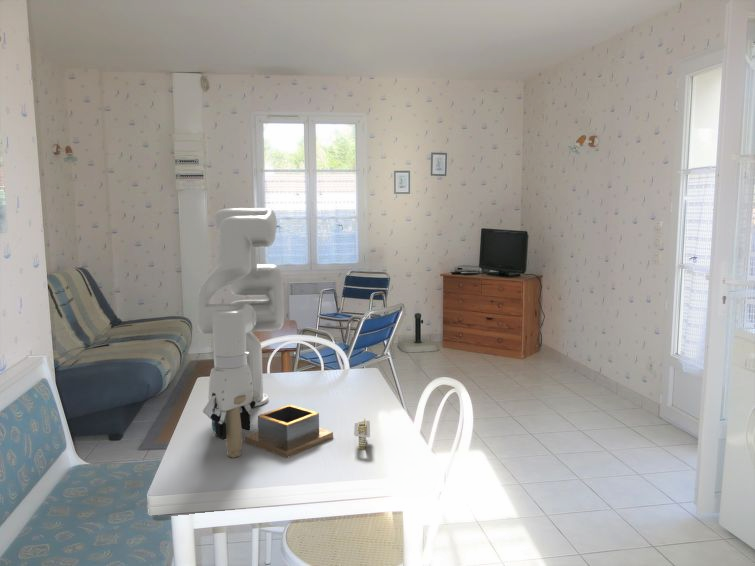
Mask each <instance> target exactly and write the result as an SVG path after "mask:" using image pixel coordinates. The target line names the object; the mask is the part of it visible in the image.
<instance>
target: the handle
mask: <svg viewBox="0 0 755 566" xmlns="http://www.w3.org/2000/svg"><path fill="white" fill-rule="evenodd" d="M245 400H246V395H244V396H241V397H238V398H234V404H241V403H243V402H244V401H245ZM240 412H241V409H240V407H238V408H235V409H232V410H229V411H227V412H226V415H225V423H226V437H227V438H226V439H225V440H224V441H225V446H226V450H227V451H226V455H227V456H228V457H230V458H233V459H234V458H238V457H240V456H241V454H242V446H243V429H242V428H241V418H240Z"/></svg>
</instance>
